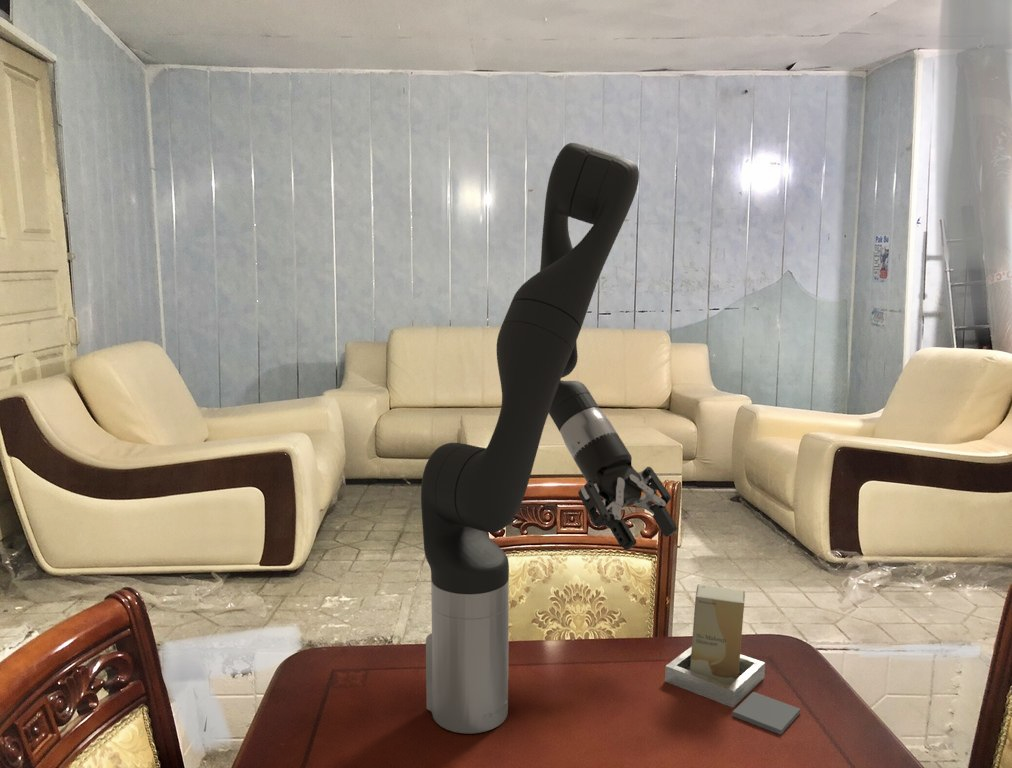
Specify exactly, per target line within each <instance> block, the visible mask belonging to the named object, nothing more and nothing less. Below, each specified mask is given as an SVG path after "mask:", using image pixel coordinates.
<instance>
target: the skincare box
mask: <svg viewBox="0 0 1012 768" xmlns="http://www.w3.org/2000/svg"><path fill="white" fill-rule="evenodd" d="M745 597H746V591H745V590H742V589H737V588H736V589H735V588H727V587H725V586H724V587H723V586H717V585H716V586H713V585H706V584H700V583H698V584H697V585H696V590H695V603H694V610H693V611H694V613H693V623H692V624H693V625H692V626H693V627H692V639H691V646H692V651H691V665H690V671H692V672H695V673H698V674H700V675H703V676H706V677H709V678H711V679H714V680H717V681H720V682H722V683H725V684H728V685H731V684H732V683H733V682H734V681H735V680H736V679H737V678H739V675H740V673H739V661H740V654H741V648H742V647H741V645H742V638H743V626H744V625H743V623H744V613H745V612H744V610H745V601H746V598H745Z"/></svg>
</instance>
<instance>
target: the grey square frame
mask: <svg viewBox="0 0 1012 768" xmlns="http://www.w3.org/2000/svg"><path fill="white" fill-rule="evenodd" d="M691 651H692V645H691V646H690V647H688V649H686V650H684V652H682V653H681V654H679V655H678V656H677V657H676V658H674V659H672V660H671V661H670V662H669V663H667V664H666V665H665V672H664V674H665V675H664V676H665V677H664V682H665V683H668V684H671V685H673V686H675V687H678V688H680V689H683V690H686V691H689V692H691V693H693V694H696V695H698V696H701V697H705V698H707V699H709V700H711V701H714V702H717V703H719V704H722V705H724V706H728V707H730V708H732V709H733V708H735V706H737V704H739V702H741V701H742V700H743V699H744V698H745V697H746V696H747V695H748V694H749V693H750V692H752V691H753V689H754V688H755V687H756V686H758V685H759V684H760V683H761V682H762V680H764V679H765V673H766V671H765V670H766V662H764V661H762V660H759V659H756V658H753V657H751V656H747V655H744V654H741V653H740V661H739V676H738V678H737V679H736V680H735V681H734V682H733V683H732V684H731V685H728V684H725V683H722V682H720V681H717V680H714V679H711V678H709V677H706V676H703V675H700V674H698V673H695V672H692V671H690V665H691ZM740 674H741V675H740Z"/></svg>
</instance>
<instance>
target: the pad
mask: <svg viewBox="0 0 1012 768" xmlns="http://www.w3.org/2000/svg"><path fill="white" fill-rule="evenodd" d="M800 715H801V708H799V707H797V706H794V705H791V704H788V703H786V702H783V701H780V700H777V699H775V698H771V697H770V696H767V695H763V694H762V693H761V694H760V693H758V692H755V691H753V692H751V693H750V694H749V695H748V696H747V697H746V698H745V699H744V700H743V701H742V702H741V703H740V704H739V705H738V706H737V707H736V708H734V709H733V710H732V717H734V718H737V719H740V720H741V721H745V722H747V723H750V724H752V725H754V726H757V727H759V728H762V729H765V730H767V731H770V732H772V733H775V734H777V735H780V736H781V735H782V734H783V733H784V732H785V731H786V730H787V729H788V728H789V726H790V725H791V724H792V723H793V722H794V721H795V720H796V718H798V716H800Z"/></svg>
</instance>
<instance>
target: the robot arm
mask: <svg viewBox="0 0 1012 768" xmlns="http://www.w3.org/2000/svg"><path fill="white" fill-rule="evenodd" d="M639 179H640V170H639V167H638V164H636V163H635V162H634V161H632V160H630V159H628V158H625V157H623V156H620V155H617V154H614V153H610V152H607V151H604V150H601V149H597V148H593V147H592V146H588V145H585V144H580V143H577V142H569V143H567V144H565V145H564V146H563V147H562V148H561V150H560V151H559V152H558V154H557V156H556V159H555V160H554V163H553V165H552V167H551V171H550V173H549V178H548V182H547V186H546V187H547V188H546V193H545V194H546V195H545V202H544V212H543V213H544V214H543V225H542V235H541V236H542V237H541V250H540V251H541V252H540V253H541V254H540V255H541V256H540V267H539V268H540V269H539V272H537V273H536V274H534V275H532V277H530V278H529V279H528V280H526V281H525V282H524V283H523V284H522V285H521V286H520V287H519V288H518V290H517V291H516V292H515V293H514V296H513V297H512V300H511V302H510V305H509V308H508V309H507V312H506V315H505V316H504V319H503V322H502V324H501V327H500V329H499V332H498V335H497V339H496V362H497V368H498V373H499V374H498V375H499V381H500V389H501V390H500V391H501V407H500V411H499V415H498V419H497V422H496V425H495V428H494V430H493V433H492V435H491V438H490V439H489V442H488V444H487V446H486V448H485V447H481V446H476V445H472V444H467V443H463V442H462V443H461V442H448V443H445V444H441V445H440V446H438V447H437V448H436V449H435V450H434V451H433V452H432V453H431V455H430V456H429V458H428V460H427V462H426V464H425V466H424V469H423V473H422V477H421V478H422V479H421V487H420V504H421V505H420V506H421V508H420V509H421V522H422V523H421V524H422V534H423V550H424V556H425V559H426V562H427V563H428V566H429V568H430V582H431V583H430V584H431V589H430V590H431V596H430V597H431V599H430V600H431V601H430V602H431V633H430V634H427V636H426V638H425V664H426V665H425V672H426V673H425V676H426V677H425V678H426V679H425V680H426V681H425V682H426V684H425V685H426V686H425V687H426V691H425V692H426V710H428V711H429V712H430V713H431V714H432V719H433V720H434V722H436V724H438V725H439V726H440V727H441V728H443V729H444V730H447V731H450V732H453V733H459V734H479V733H480V734H481V733H485V732H489V731H491V730H493V729H495V728H498V727H500V725H502V723H504V722H505V720H506V719H507V718H508V714H509V712H508V711H509V636H510V634H509V627H510V625H509V623H510V619H509V614H510V613H509V610H510V607H509V606H510V602H509V599H510V597H509V596H510V595H509V594H510V591H509V590H510V584H509V583H510V581H509V579H510V565H509V564H510V563H509V558H508V555H507V553H506V552H505V551H504V550H503V549H502V548H501V547H500V546H498V545H497V544H496V543H495V542H494V541H493V540H492V538H491V537H490V536H489V534H487V533H497V532H499V531H502V530H503V529H505V528H506V527H507V526H509V525H510V523H512V520H513V519H514V518H515V517H516V515H517V513H518V511H519V509H520V507H521V505H522V502H523V501H524V497H525V495H526V491H527V489H528V485H529V481H530V478H531V474H532V471H533V467H534V464H535V461H536V457H537V452H538V449H539V446H540V442H541V439H542V434H543V432H544V428H545V425H546V422H547V419H548V416H550V418H551V420H552V421H553V423H554V424H555V425H554V426H556V428H557V430H558V431H559V433H560V435H561V437H562V440H563V442H564V444H565V447H566V448H567V451H569V454H570V455H571V457H572V459H573V460H574V462H575V464H576V465H577V467H578V470H579V471H580V472H581V474H582V476H583V477H584V479H585V481H586V483H585V484H584V485H583V486H582V487H581V488H580V489H579V490H578V492H577V494H578V496H579V498H580V500H581V502H582V504H583V506H584V508H585V509H586V511H587V513H588V515H589V517H590V519H591V521H592V523H593V525H594V526H595V527H596V528H600V527H601V526H604V527H606V528H607V529H610V531H611V534H612V535H613V536H614V538H615V540H616V541H617V543H618V545H619V546H621V548H622V549H623V550H624V551H628V550H631V549H632V548H633V547H635V546H636V544H637V539H636V538H635V536H634V534H633V532H632V531H631V529H630V527H628V526H629V525H628V524H627V523H626V521H625V519H622V509H623V508H624V507H627V506H628V507H629V506H636V507H637V508H640V509H641V508H643V509H644V510H646V511H648V513H650V514H651V515H652V518H653V520H654V521H655V523H656V524H657V527H659V529H660V531H661V533H662V534H663V536H664V537H671V536H672V535H673V534H675V532H677V530H678V529H677V528H678V527H677V524H676V523H675V521H674V519H673V517H672V516H671V514H670V512H669V511H668V509H667V507H666V506H667V504H668V503H669V502H670V501H671V500H672V495H671V494H670V492H669V491H668V489H667V488H666V487H665V485H664V484H663V482H662V481H661V479H660V478H659V477H658V475H657V474H656V472H655V470H654V469H653V468H652V467H651V466H647V467H645V468H644V469H643V470H642V471H639V472H638V471H637V470H636V469H634V467H633V464H632V460H633V458H632V455H631V453H630V452H629V450H628V448H627V447H626V445H625V443H624V442H623V440H622V439H621V437H620V436H619V434H618V432H617V431H616V429H615V427H614V426H613V424H612V423H611V421H610V420H609V418H608V417H607V416H606V414H604V413H603V411H602V410H601V408H600V407H599V405H598V404H597V402H596V400H595V398H594V397H593V396H592V394H591V392H590V391H589V389H588V388H587V386H586V385H585V384H584V383H583V382H581V381H579V380H561V379H562V378H565V377H567V376H569V375H570V374H571V373H572V372H573V371H574V369H575V368H576V366H577V364H578V357H579V356H578V345H577V340H578V337H579V335H580V332H581V330H582V327H583V324H584V321H585V318H586V315H587V312H588V311H589V310H588V309H589V306H590V303H591V301H592V298H593V295H594V293H595V290H596V286H597V284H598V281H599V279H600V276H601V273H602V271H603V268H604V266H605V264H606V262H607V259H608V256H609V254H610V252H611V251H612V249H613V246H614V244H615V241H616V239H617V238H618V235H619V232H620V231H621V229H622V227H623V224H624V222H625V220H626V218H627V216H628V213H629V211H630V208H631V206H632V205H633V201H634V199H635V196H636V193H637V191H638V186H639ZM569 218H572V219H574V220H575V219H576V220H578V221H581V222H583V223H587V224H590V225H592V226H591V228H590V229H589V230H588V232H587V233H586V234H585V235H584V237H583V238H582V239H581V240H580V241H579V242H578V243H577V244H575V246H574V247H573V245H572V242H571V237H570V232H569ZM642 493H643V495H642ZM658 493H659V494H660V495H661V496H660V495H659V494H658ZM652 503H653V504H652Z"/></svg>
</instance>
